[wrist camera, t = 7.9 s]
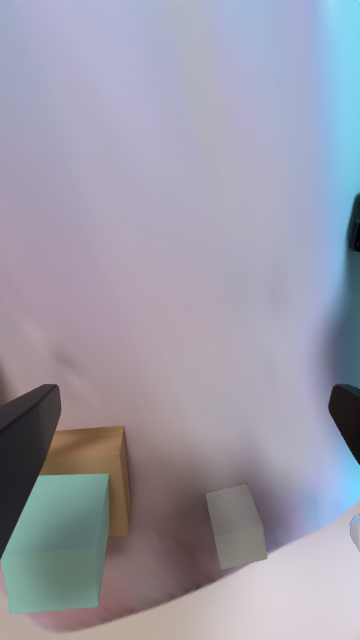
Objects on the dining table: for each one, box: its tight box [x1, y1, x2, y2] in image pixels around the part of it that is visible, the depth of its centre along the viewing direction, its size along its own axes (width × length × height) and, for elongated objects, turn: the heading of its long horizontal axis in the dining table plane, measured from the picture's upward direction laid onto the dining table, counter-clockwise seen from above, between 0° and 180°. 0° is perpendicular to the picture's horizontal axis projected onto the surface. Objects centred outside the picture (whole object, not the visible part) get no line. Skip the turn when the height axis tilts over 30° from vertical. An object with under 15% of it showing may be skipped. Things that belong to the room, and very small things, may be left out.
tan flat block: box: [39, 426, 131, 538], centre depth 22 cm, size 8×8×4 cm
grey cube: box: [205, 483, 267, 570], centre depth 24 cm, size 4×4×4 cm
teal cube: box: [1, 473, 110, 614], centre depth 18 cm, size 5×5×5 cm
